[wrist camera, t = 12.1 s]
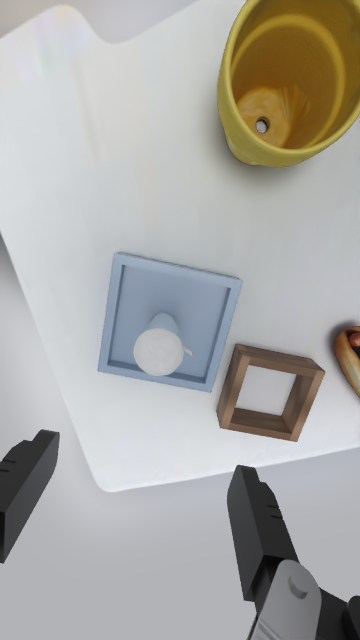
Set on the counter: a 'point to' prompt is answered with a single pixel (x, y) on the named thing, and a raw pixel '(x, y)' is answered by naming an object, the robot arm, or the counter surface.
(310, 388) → the holder
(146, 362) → the milkshake
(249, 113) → the plant pot
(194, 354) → the tray
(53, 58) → the counter surface
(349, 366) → the hot dog
